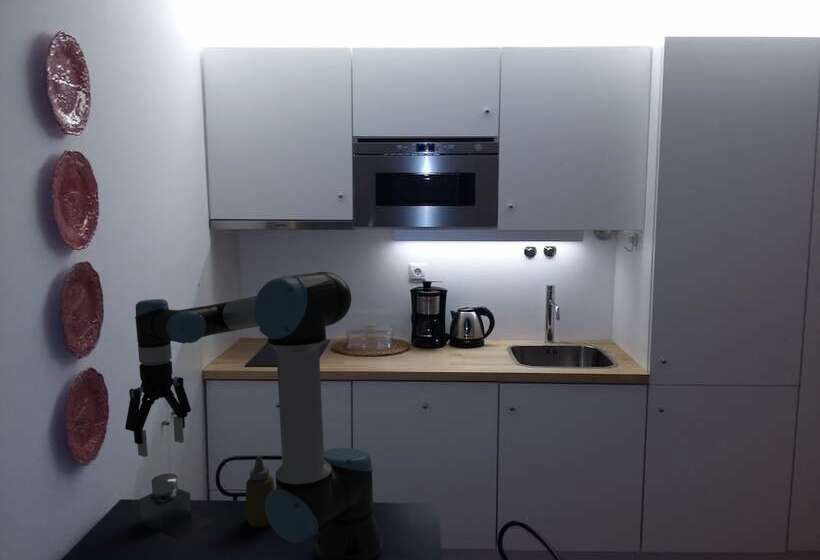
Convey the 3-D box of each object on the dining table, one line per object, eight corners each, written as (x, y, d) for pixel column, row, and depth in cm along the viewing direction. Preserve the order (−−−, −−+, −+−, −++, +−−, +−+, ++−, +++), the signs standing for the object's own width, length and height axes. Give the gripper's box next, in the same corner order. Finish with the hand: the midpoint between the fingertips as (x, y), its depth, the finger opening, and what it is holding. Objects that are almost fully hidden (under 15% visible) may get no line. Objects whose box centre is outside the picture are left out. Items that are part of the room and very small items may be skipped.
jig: (213, 525, 151) (211, 497, 150) (179, 543, 143) (177, 514, 142) (173, 510, 160) (171, 484, 159) (139, 527, 151) (136, 499, 150)
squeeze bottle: (270, 535, 146) (266, 463, 144) (239, 532, 147) (235, 461, 145) (283, 518, 153) (280, 450, 152) (254, 516, 155) (251, 449, 153)
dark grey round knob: (184, 515, 154) (182, 477, 152) (164, 526, 149) (161, 487, 147) (169, 509, 157) (166, 471, 155) (149, 519, 152) (146, 481, 150)
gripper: (183, 351, 160) (189, 432, 163) (103, 370, 142) (110, 461, 144) (202, 354, 156) (207, 436, 159) (122, 373, 138) (129, 467, 140)
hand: (161, 448), depth 151 cm, fingers open, 10 cm apart
